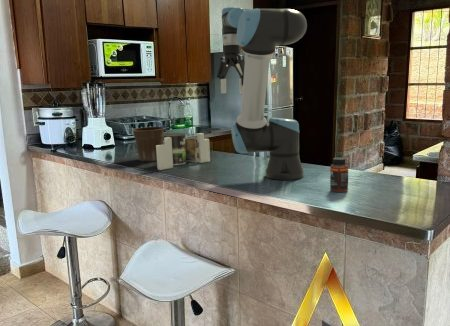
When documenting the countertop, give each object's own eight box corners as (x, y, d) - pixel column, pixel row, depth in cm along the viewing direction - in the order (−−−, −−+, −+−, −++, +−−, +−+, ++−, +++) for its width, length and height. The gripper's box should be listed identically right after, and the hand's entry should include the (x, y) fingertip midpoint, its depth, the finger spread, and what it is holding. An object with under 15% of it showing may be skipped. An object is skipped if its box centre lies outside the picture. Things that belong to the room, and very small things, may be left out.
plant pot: (143, 164, 205) (140, 131, 202) (129, 159, 218) (127, 128, 215) (172, 159, 215) (170, 128, 212) (157, 155, 228) (155, 126, 224)
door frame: (210, 161, 206) (208, 132, 203) (160, 170, 190) (158, 139, 187) (207, 160, 208) (206, 132, 205) (157, 169, 191) (155, 138, 189)
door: (198, 160, 208) (197, 137, 205) (195, 161, 205) (194, 138, 202) (176, 158, 213) (174, 137, 211) (172, 160, 210) (171, 138, 208)
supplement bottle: (351, 190, 145) (351, 157, 142) (343, 193, 140) (343, 160, 138) (335, 187, 149) (335, 156, 146) (326, 191, 144) (327, 158, 142)
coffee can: (189, 161, 208) (187, 133, 205) (182, 165, 198) (181, 135, 195) (169, 161, 210) (167, 133, 207) (162, 165, 200) (160, 136, 197)
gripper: (208, 47, 194) (210, 93, 198) (242, 41, 174) (244, 93, 178) (221, 47, 198) (222, 92, 202) (256, 42, 179) (257, 92, 183)
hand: (232, 93), depth 190 cm, fingers open, 13 cm apart
